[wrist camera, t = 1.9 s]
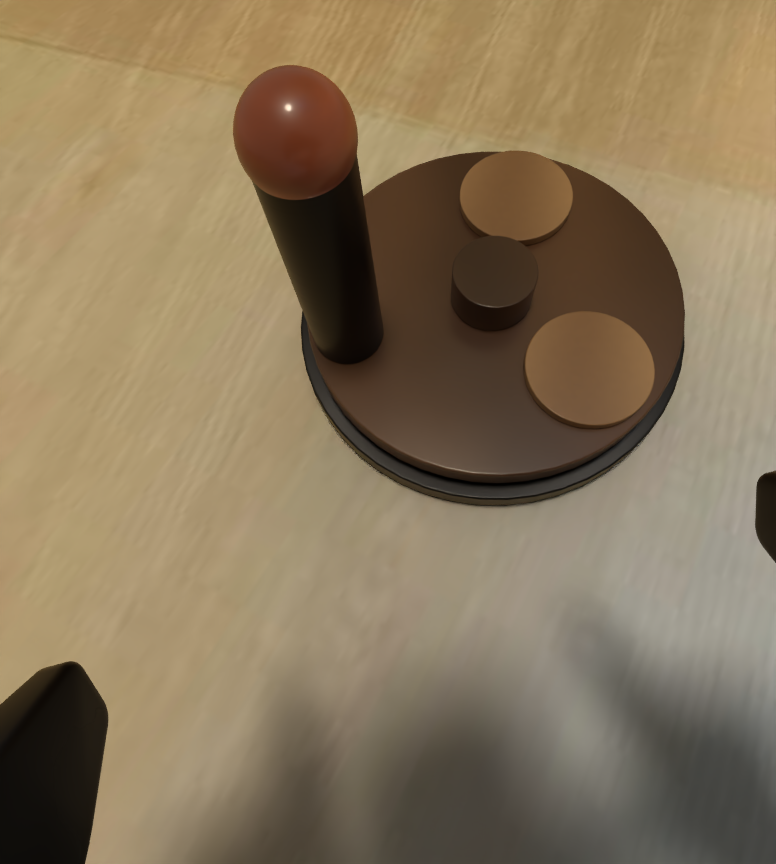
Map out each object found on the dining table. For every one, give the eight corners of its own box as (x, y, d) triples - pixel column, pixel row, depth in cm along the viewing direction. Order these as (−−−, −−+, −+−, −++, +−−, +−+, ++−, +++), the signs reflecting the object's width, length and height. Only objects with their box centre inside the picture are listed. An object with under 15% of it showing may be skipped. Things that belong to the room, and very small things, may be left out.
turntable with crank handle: (593, 135, 25) (711, -236, 15) (740, 424, 20) (1078, 189, 10) (281, 216, 25) (169, -101, 14) (357, 529, 20) (272, 404, 10)
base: (756, 339, 23) (770, 327, 22) (473, 592, 20) (475, 589, 20) (494, 129, 27) (496, 111, 27) (236, 315, 25) (229, 302, 24)
